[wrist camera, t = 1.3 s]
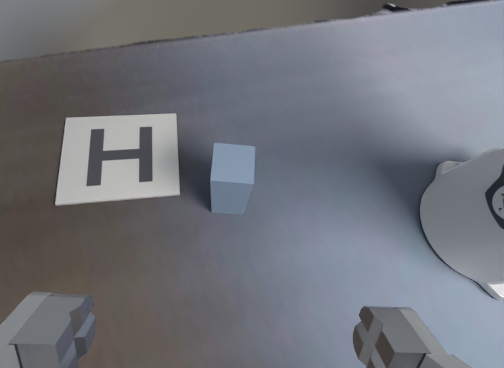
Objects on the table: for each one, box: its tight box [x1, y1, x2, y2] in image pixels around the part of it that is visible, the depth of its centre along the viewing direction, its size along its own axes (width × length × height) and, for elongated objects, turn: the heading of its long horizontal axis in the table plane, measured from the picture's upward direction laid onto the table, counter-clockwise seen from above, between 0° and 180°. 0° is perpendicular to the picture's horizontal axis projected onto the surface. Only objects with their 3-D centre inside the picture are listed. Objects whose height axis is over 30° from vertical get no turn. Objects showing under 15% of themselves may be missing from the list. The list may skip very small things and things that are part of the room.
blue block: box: [210, 143, 255, 215], centre depth 31 cm, size 4×4×10 cm
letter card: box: [55, 113, 180, 206], centre depth 36 cm, size 14×12×1 cm
